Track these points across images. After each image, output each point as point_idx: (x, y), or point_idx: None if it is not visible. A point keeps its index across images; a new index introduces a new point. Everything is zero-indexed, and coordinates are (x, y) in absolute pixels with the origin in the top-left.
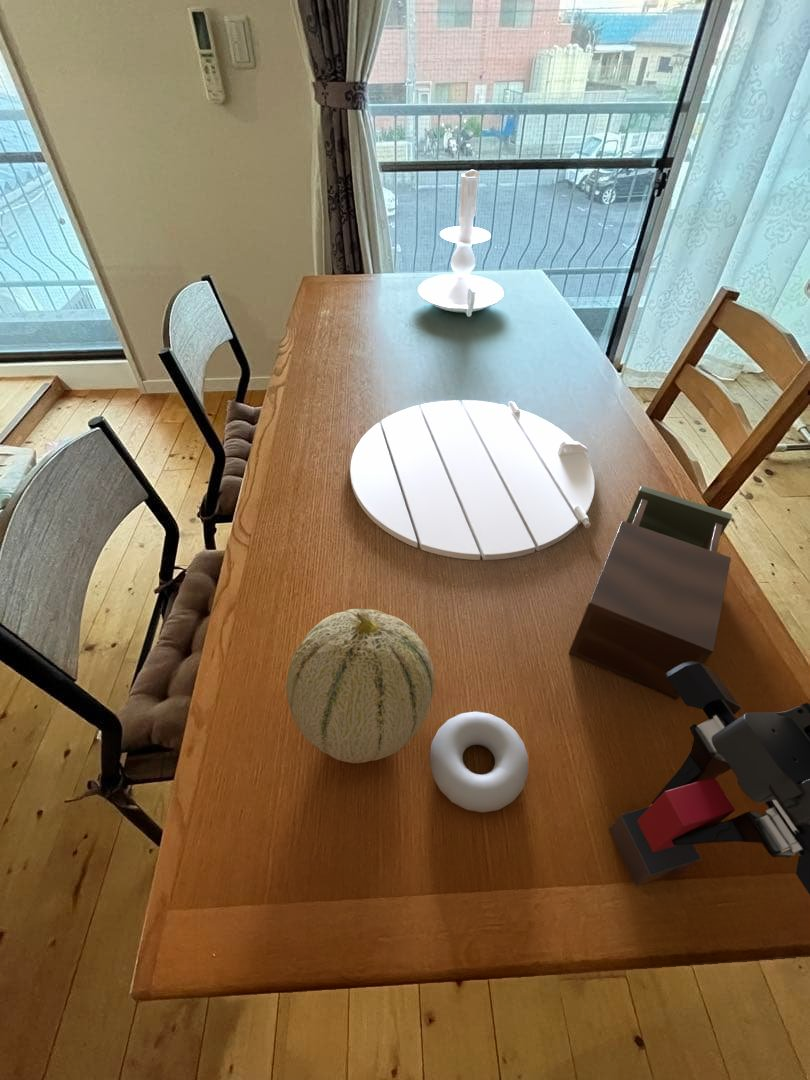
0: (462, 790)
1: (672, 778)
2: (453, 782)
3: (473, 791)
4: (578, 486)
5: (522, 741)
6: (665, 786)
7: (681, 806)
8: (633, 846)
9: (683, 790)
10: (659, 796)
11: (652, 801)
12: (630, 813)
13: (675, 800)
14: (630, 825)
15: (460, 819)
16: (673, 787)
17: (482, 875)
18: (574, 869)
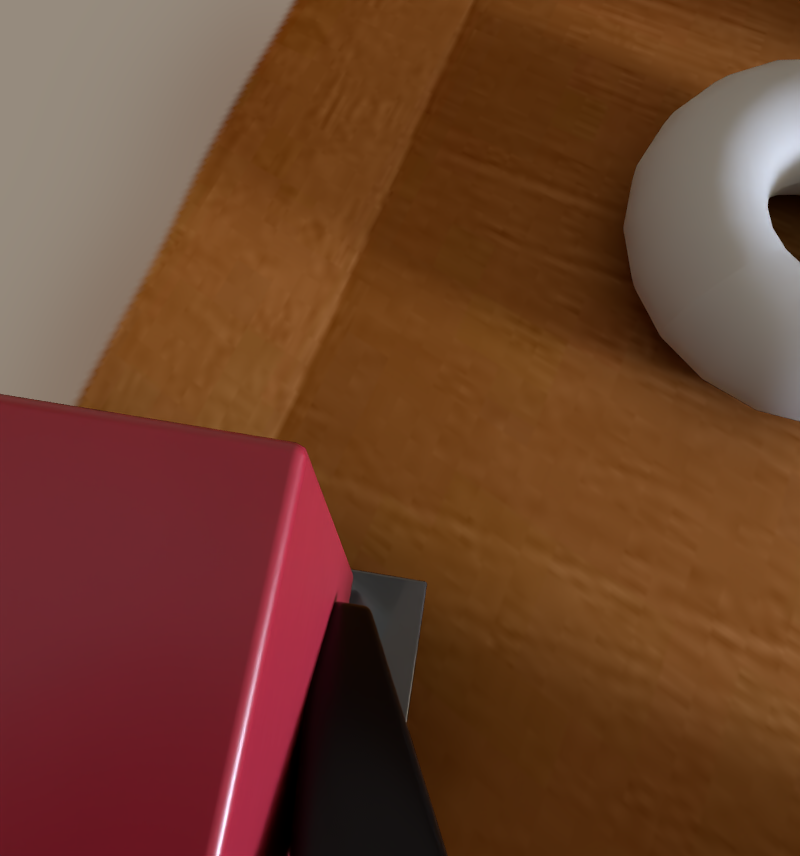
0: (737, 84)
1: (438, 848)
2: (774, 70)
3: (723, 108)
4: None
5: None
6: (408, 740)
7: (9, 515)
8: None
9: (167, 737)
10: (368, 659)
11: (371, 614)
12: (411, 633)
13: (123, 493)
14: (365, 594)
15: (630, 150)
16: (355, 794)
17: (458, 136)
18: (352, 392)
